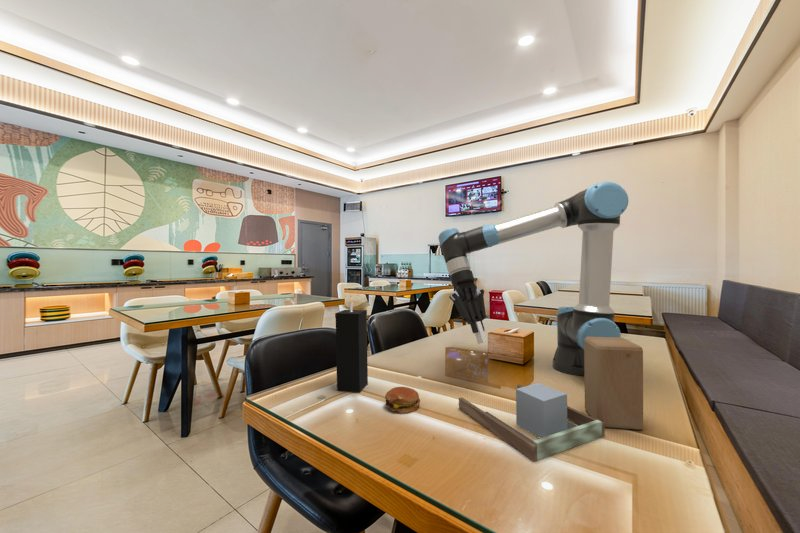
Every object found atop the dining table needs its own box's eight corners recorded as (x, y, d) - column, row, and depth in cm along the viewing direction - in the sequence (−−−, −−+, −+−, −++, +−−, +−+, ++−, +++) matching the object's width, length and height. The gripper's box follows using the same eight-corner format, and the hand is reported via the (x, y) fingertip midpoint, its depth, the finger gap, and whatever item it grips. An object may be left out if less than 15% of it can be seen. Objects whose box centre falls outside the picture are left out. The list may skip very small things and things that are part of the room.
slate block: (538, 417, 83) (538, 382, 83) (567, 431, 76) (567, 394, 76) (516, 425, 80) (516, 388, 79) (544, 441, 72) (543, 401, 72)
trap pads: (527, 401, 92) (527, 401, 92) (578, 427, 78) (578, 426, 78) (476, 415, 85) (476, 414, 85) (522, 446, 70) (522, 445, 70)
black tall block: (336, 391, 102) (334, 302, 102) (346, 381, 110) (344, 299, 109) (359, 393, 100) (358, 303, 100) (368, 383, 108) (366, 300, 108)
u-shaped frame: (519, 394, 98) (519, 382, 98) (604, 435, 74) (604, 420, 74) (458, 408, 89) (458, 396, 89) (533, 461, 65) (533, 444, 65)
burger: (414, 397, 97) (414, 382, 96) (424, 411, 88) (423, 394, 87) (382, 401, 94) (381, 386, 94) (388, 416, 85) (388, 399, 85)
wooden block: (645, 431, 75) (645, 346, 75) (598, 428, 77) (597, 345, 77) (624, 412, 85) (624, 336, 85) (583, 409, 87) (582, 335, 87)
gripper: (469, 275, 114) (490, 341, 107) (438, 278, 108) (459, 348, 101) (482, 267, 108) (505, 336, 100) (450, 269, 102) (472, 344, 94)
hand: (482, 342), depth 100 cm, fingers closed
